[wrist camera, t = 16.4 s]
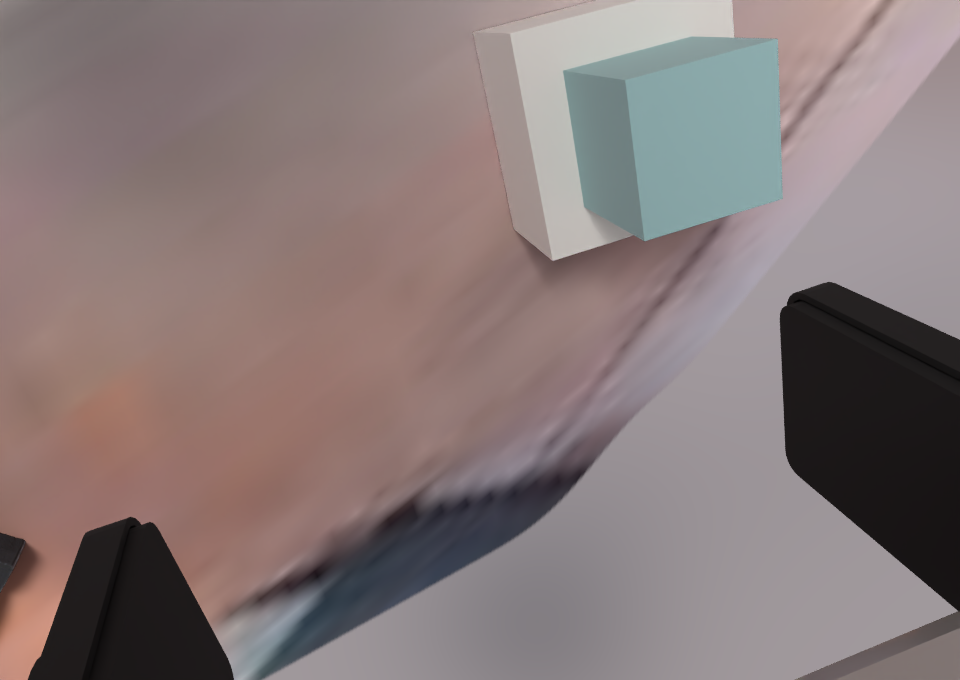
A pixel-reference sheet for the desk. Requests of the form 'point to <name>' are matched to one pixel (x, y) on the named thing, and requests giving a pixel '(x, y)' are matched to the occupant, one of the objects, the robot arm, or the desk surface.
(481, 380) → the desk surface
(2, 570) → the disk drive
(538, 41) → the cream block
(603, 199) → the teal cube
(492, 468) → the desk surface
